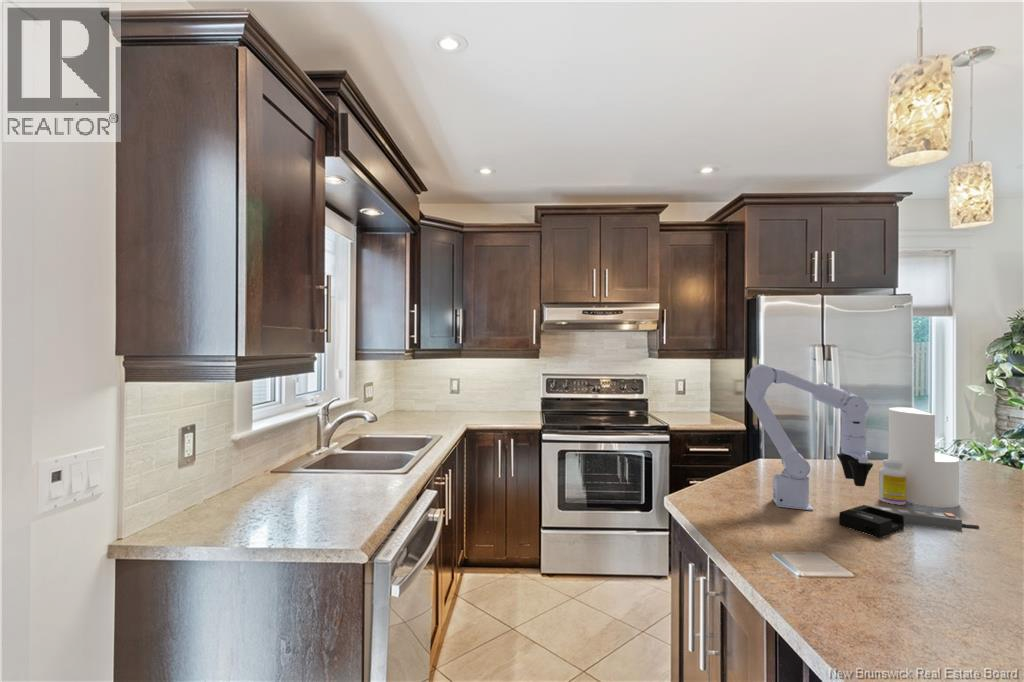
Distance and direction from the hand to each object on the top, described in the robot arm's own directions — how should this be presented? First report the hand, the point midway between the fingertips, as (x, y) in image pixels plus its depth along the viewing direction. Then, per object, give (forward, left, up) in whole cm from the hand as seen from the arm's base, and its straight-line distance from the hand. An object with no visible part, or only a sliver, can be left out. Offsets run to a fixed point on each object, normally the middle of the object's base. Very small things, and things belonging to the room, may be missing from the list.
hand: (854, 482), depth 138 cm
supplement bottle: (+15, +15, -9) cm, 23 cm away
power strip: (+15, -2, -9) cm, 18 cm away
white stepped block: (+26, +23, -9) cm, 36 cm away
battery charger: (0, -11, -10) cm, 15 cm away
